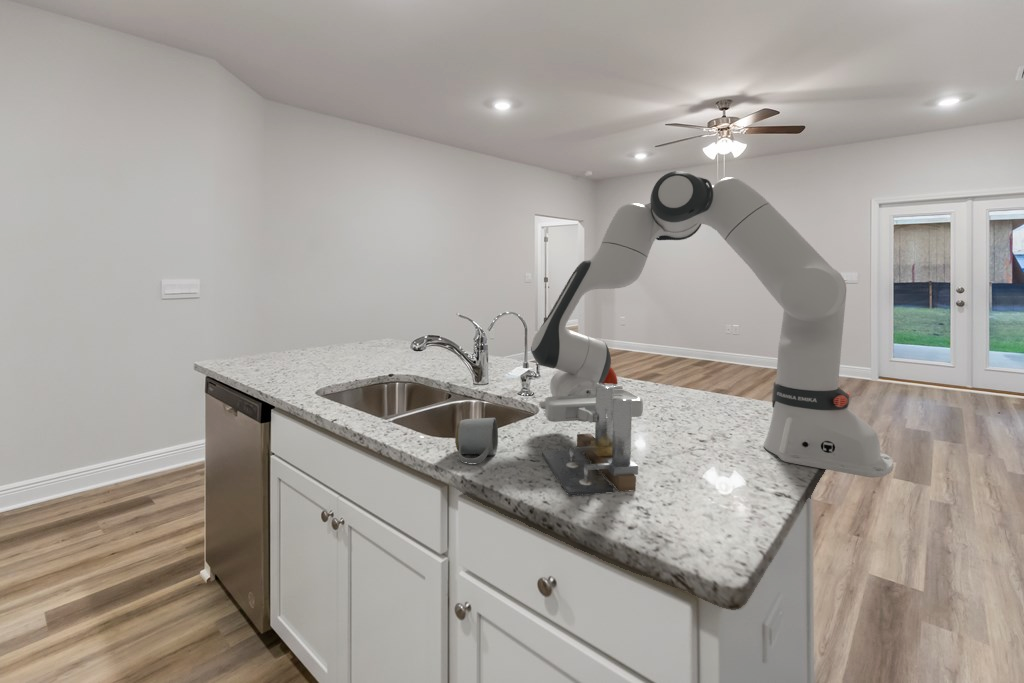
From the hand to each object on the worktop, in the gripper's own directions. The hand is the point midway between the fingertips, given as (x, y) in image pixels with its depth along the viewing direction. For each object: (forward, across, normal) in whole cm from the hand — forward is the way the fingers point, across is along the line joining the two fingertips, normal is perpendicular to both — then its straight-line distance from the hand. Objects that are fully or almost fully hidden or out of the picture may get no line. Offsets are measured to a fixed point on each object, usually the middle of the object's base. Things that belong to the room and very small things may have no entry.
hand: (606, 417), depth 94 cm
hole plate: (+1, -6, +10) cm, 12 cm away
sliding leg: (-1, -2, +9) cm, 9 cm away
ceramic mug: (-11, -24, +10) cm, 28 cm away
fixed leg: (+8, -2, +9) cm, 12 cm away
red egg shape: (-52, +19, +10) cm, 56 cm away
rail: (-1, 0, +10) cm, 10 cm away
